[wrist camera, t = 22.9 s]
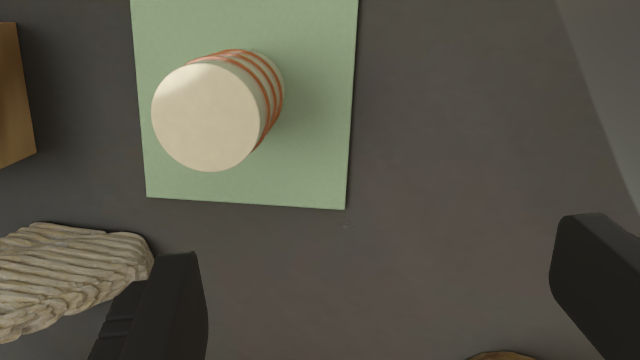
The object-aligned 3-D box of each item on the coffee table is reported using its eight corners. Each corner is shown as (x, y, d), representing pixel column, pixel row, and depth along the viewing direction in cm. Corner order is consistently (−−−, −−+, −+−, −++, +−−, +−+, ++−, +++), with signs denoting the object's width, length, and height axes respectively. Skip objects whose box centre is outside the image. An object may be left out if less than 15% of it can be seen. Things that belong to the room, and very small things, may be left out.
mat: (129, -48, 33) (125, -49, 32) (360, -39, 32) (361, -40, 32) (149, 194, 39) (146, 197, 39) (344, 207, 38) (344, 210, 38)
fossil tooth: (163, 280, 43) (-7, 280, 43) (155, 218, 41) (-24, 217, 40) (116, 377, 33) (-110, 378, 32) (102, 301, 30) (-142, 301, 30)
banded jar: (200, 43, 34) (142, 56, 25) (288, 48, 34) (262, 63, 24) (204, 130, 36) (151, 171, 27) (286, 134, 36) (263, 178, 27)
